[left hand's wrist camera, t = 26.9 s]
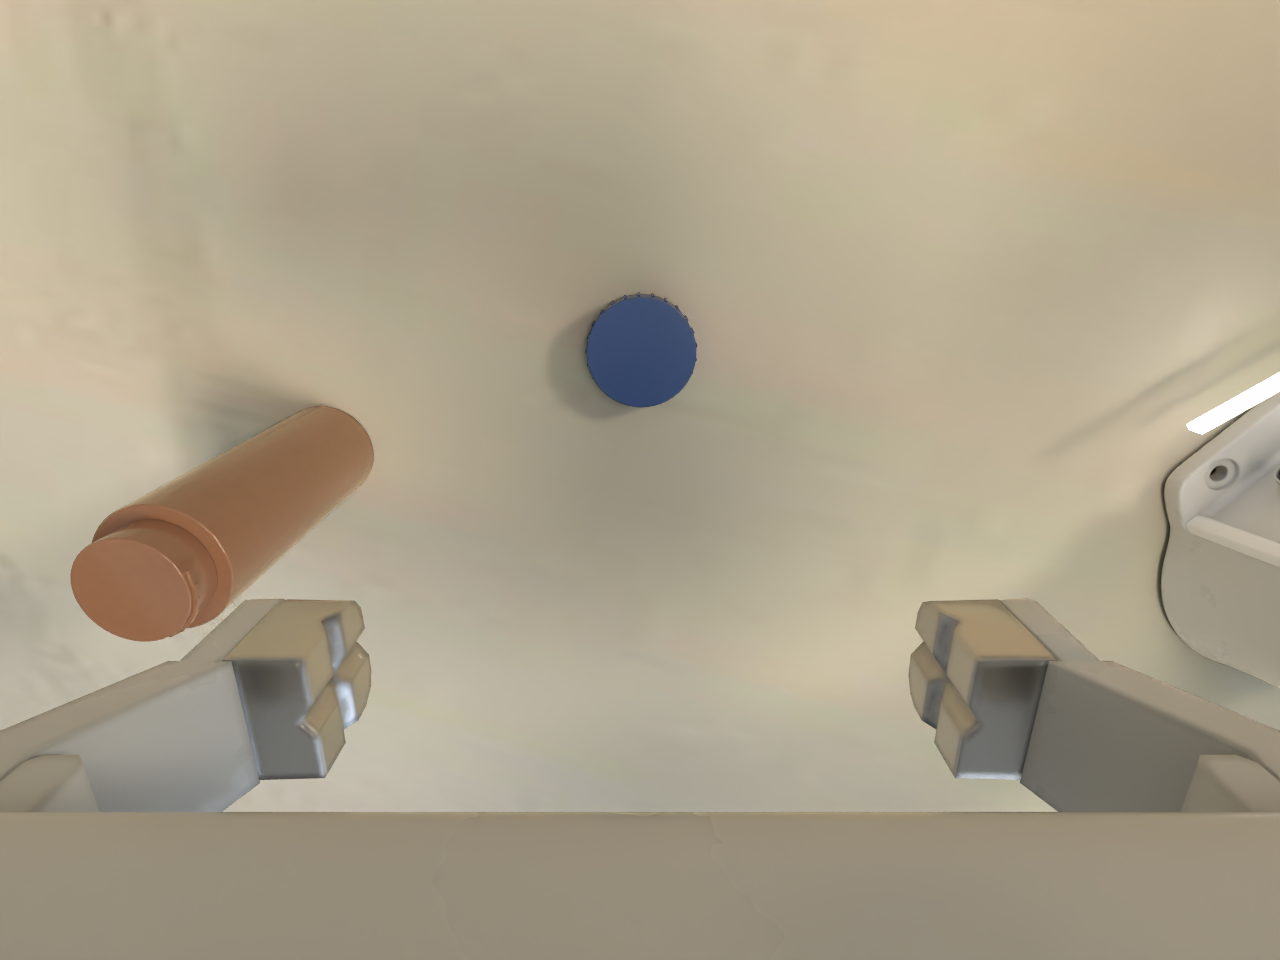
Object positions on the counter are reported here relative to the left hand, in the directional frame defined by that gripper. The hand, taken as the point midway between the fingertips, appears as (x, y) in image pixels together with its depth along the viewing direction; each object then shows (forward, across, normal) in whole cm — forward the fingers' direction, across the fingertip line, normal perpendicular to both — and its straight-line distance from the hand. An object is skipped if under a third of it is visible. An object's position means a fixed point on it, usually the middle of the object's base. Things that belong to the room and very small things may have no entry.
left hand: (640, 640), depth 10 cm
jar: (+26, +16, +5) cm, 31 cm away
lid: (+25, 0, 0) cm, 25 cm away
